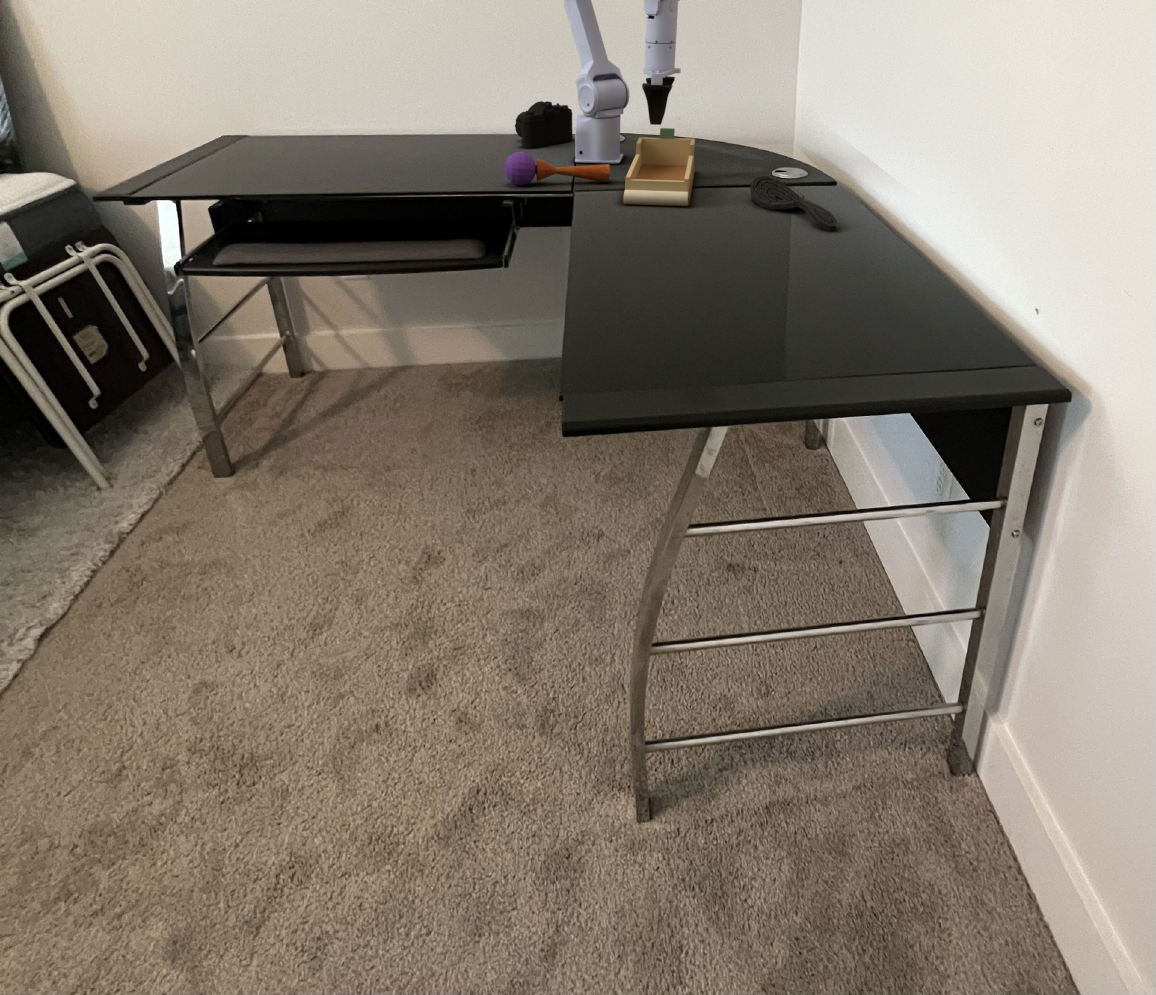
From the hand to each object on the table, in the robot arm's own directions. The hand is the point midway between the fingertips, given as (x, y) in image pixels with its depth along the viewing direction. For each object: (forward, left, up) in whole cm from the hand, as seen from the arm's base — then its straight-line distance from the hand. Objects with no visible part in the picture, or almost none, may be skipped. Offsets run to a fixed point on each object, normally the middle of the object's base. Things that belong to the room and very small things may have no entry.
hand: (657, 120), depth 165 cm
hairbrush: (+26, -26, -10) cm, 38 cm away
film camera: (-29, +27, -10) cm, 41 cm away
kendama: (-18, -12, -10) cm, 24 cm away
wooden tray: (+2, -12, -10) cm, 15 cm away
